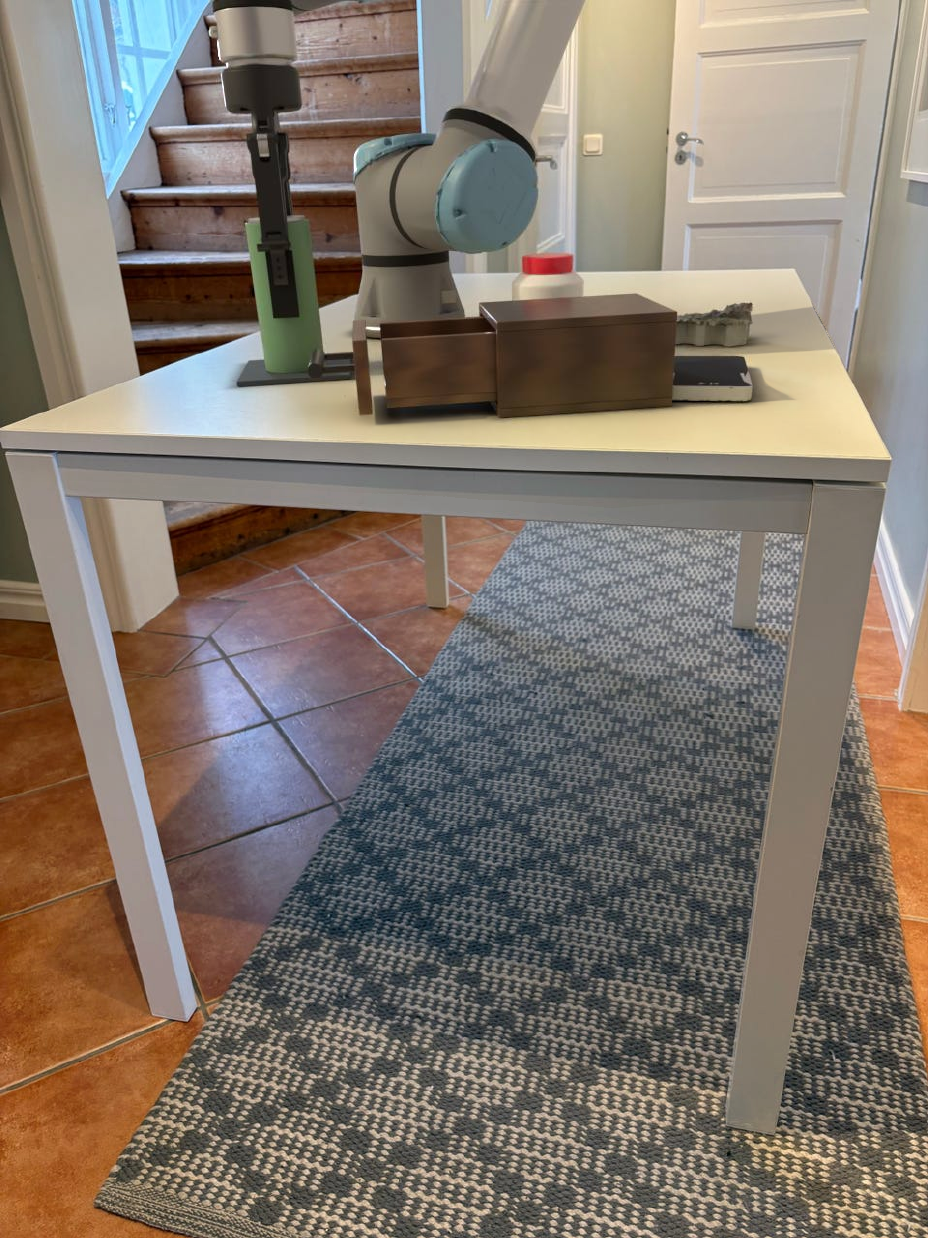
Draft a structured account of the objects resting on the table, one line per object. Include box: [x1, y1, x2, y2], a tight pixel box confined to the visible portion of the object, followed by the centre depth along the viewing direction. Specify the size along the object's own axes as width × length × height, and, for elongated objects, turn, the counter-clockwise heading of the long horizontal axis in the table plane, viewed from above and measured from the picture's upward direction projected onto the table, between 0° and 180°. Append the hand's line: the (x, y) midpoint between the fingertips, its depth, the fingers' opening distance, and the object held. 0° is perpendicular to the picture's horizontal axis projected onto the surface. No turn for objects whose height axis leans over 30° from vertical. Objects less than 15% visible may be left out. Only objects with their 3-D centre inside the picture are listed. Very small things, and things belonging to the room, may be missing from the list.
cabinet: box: [478, 293, 678, 419], centre depth 83 cm, size 16×13×8 cm
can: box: [244, 214, 325, 373], centre depth 97 cm, size 7×7×15 cm
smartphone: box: [672, 355, 754, 402], centre depth 87 cm, size 8×1×15 cm
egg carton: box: [675, 302, 754, 348], centre depth 106 cm, size 11×8×4 cm
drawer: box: [307, 315, 497, 416], centre depth 82 cm, size 19×11×6 cm, turn 96°
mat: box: [235, 359, 352, 387], centre depth 101 cm, size 12×12×1 cm
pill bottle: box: [511, 252, 585, 301], centre depth 98 cm, size 8×8×11 cm
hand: (288, 311), depth 98 cm, fingers closed on can, 7 cm apart
